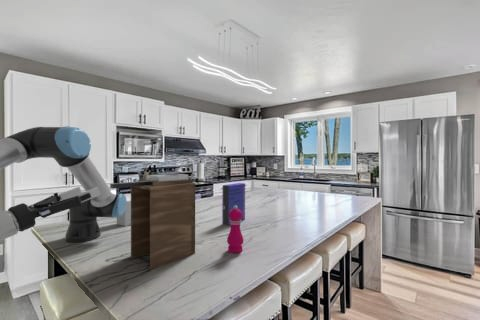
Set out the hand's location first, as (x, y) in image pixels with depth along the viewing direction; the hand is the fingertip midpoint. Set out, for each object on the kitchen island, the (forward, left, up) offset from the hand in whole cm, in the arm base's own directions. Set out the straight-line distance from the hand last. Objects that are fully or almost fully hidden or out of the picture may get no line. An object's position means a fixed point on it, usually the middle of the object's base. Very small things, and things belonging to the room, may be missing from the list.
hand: (89, 190), depth 86 cm
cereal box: (-10, +84, -30) cm, 90 cm away
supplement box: (-54, +36, -30) cm, 72 cm away
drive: (+4, +21, +1) cm, 21 cm away
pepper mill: (+23, +50, -30) cm, 63 cm away
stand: (+4, +26, -29) cm, 40 cm away
